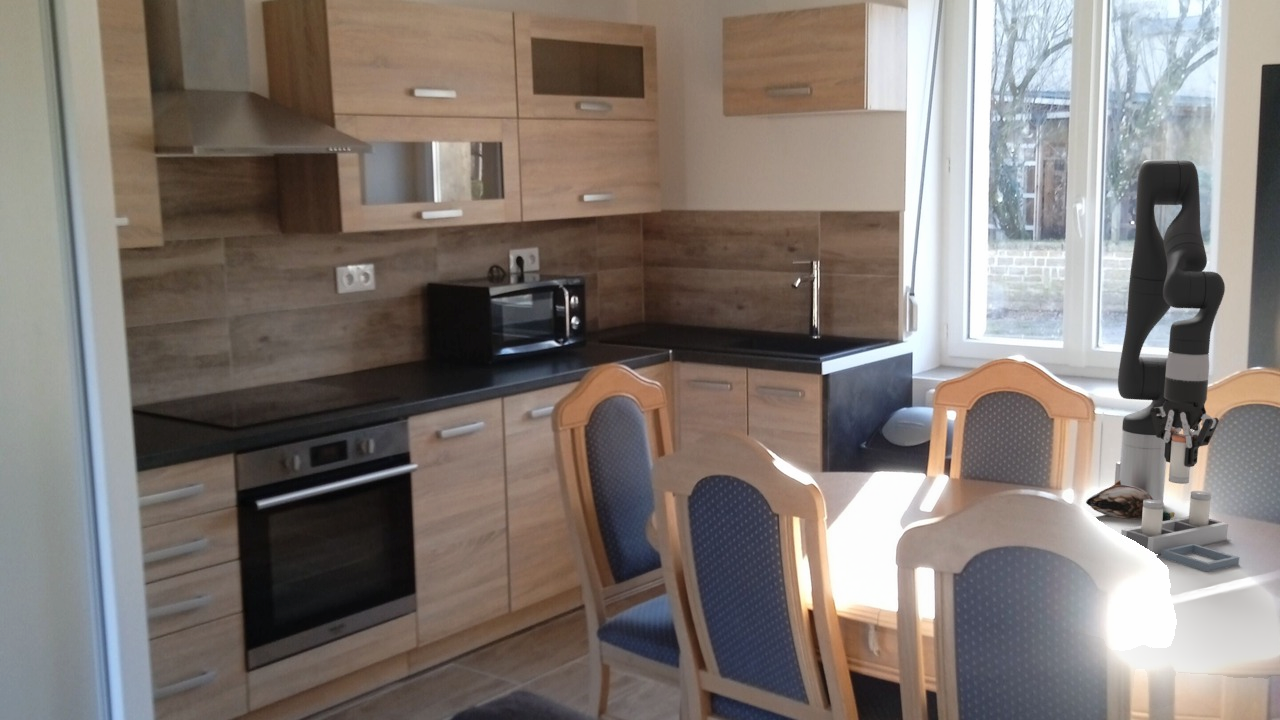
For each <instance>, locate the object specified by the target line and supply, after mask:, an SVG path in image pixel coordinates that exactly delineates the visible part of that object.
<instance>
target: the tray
mask: <svg viewBox="0 0 1280 720" xmlns="http://www.w3.org/2000/svg"><path fill="white" fill-rule="evenodd" d="M1193 553H1194V554H1196V555H1199V556H1203V557H1205V558H1210V559H1213V561H1203V560H1201V559H1196V558H1193V557H1190V556H1187V555H1188V554H1193ZM1160 557H1161V558H1162V559H1164V560H1166V561H1167V560H1168V561H1171V562H1174V563H1178V564H1181V565H1184V566H1187V567H1191V568H1193V569H1196V570H1198V571H1199V570H1200V571H1203V572H1206V573H1210V572H1214V571H1215V572H1216V571H1218V570H1222V569H1228V568H1231V567H1237V566H1240V557H1239V556H1236V555H1233V554H1229V553H1226V552H1222V551H1219V550H1215V549H1212V548H1209V547H1206V546H1199V545H1196V544H1188V545H1183V546H1178V547H1174V548H1169V549H1164V550H1162V554H1161V556H1160Z"/></svg>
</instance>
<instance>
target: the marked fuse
mask: <svg viewBox="0 0 1280 720" xmlns="http://www.w3.org/2000/svg"><path fill="white" fill-rule="evenodd" d="M1186 448H1187V445H1186V437H1185V436H1184V434H1183V433H1179V434H1172V442H1171V456H1170V463H1169V470H1168V482H1170V483H1172V484H1179V485H1183V484H1184V485H1186V484H1189V483H1190V472H1191V467H1186V466H1185V465H1184V463H1185V450H1186Z"/></svg>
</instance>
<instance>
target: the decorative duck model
mask: <svg viewBox="0 0 1280 720" xmlns="http://www.w3.org/2000/svg"><path fill="white" fill-rule="evenodd" d="M1148 499H1151V500H1153V499H1152V497H1151V496H1150V495H1149V494H1148V493H1147V492H1146V491H1144V490H1142V489H1140V488H1137V487H1134V486H1129V485H1121V483H1120V481H1118V482H1117V483H1115V482H1114V484H1112V485H1111V486H1110V487H1107V488H1104V489H1103V490H1101V491H1098V492H1097V493H1096V494H1094V495H1092V496H1091V497H1088V498H1087V499H1086V501H1085V504H1087V505H1088V506H1090V508H1091V509H1092V510H1094V511H1096V512H1098V513H1101V514H1103V515H1105V516H1107V517H1108V516H1109V517H1114V518H1121V519H1132V520H1134V519H1135V520H1136V519H1142V512H1143V500H1148ZM1172 518H1175V512H1167V511H1165V510H1163V519H1162V521H1167V520H1172Z"/></svg>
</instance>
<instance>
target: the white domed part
mask: <svg viewBox="0 0 1280 720" xmlns="http://www.w3.org/2000/svg"><path fill="white" fill-rule="evenodd" d="M1211 499H1212V494H1211V493H1210V492H1207V491H1204V490H1203V491H1202V490H1191V491H1190V500H1189V501H1190V502H1189V511H1188V512H1189V513H1188V516H1189V523H1188V524H1191V525H1194V526H1198V527H1202V526H1207V525H1209V519H1210V511H1211V510H1210V509H1211V501H1212V500H1211Z"/></svg>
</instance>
